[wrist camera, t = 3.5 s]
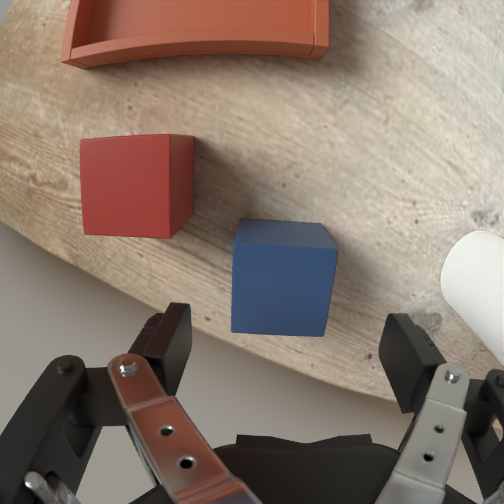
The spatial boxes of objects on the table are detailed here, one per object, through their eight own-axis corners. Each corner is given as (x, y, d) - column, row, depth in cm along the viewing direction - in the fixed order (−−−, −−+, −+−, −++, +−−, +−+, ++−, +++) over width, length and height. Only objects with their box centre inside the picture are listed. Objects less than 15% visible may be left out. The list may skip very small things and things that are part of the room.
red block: (121, 213, 20) (83, 235, 15) (119, 138, 18) (78, 139, 14) (193, 215, 20) (171, 239, 15) (194, 135, 18) (170, 133, 13)
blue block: (238, 291, 21) (230, 332, 17) (241, 218, 20) (233, 242, 15) (312, 295, 21) (324, 337, 17) (321, 223, 20) (338, 249, 15)
